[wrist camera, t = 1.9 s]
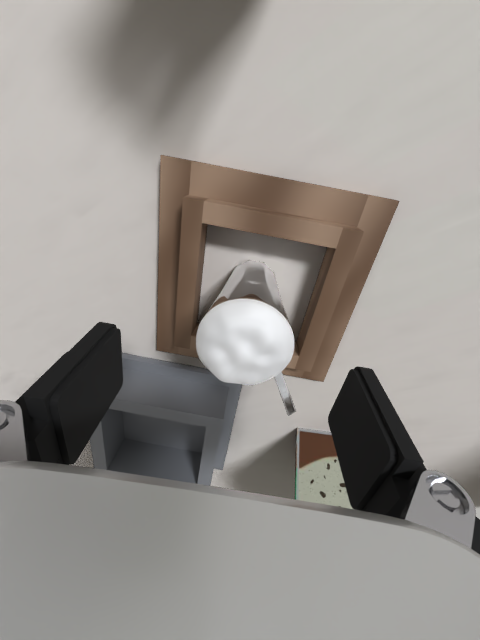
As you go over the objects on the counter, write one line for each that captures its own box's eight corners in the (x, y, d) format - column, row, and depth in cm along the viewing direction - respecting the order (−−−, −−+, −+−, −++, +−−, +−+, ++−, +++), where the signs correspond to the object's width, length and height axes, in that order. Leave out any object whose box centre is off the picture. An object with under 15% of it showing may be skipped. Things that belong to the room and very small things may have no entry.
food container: (272, 464, 30) (274, 587, 21) (281, 425, 27) (287, 551, 18) (388, 480, 29) (439, 613, 21) (411, 442, 26) (481, 579, 18)
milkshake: (260, 327, 22) (254, 436, 13) (208, 281, 20) (162, 369, 11) (306, 290, 20) (335, 387, 11) (253, 235, 18) (239, 299, 10)
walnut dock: (395, 200, 16) (410, 203, 15) (321, 377, 23) (326, 394, 22) (164, 155, 16) (151, 154, 15) (159, 346, 23) (150, 360, 22)
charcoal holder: (243, 376, 24) (239, 412, 20) (223, 464, 30) (217, 504, 27) (96, 348, 24) (66, 379, 20) (107, 443, 30) (85, 479, 27)
